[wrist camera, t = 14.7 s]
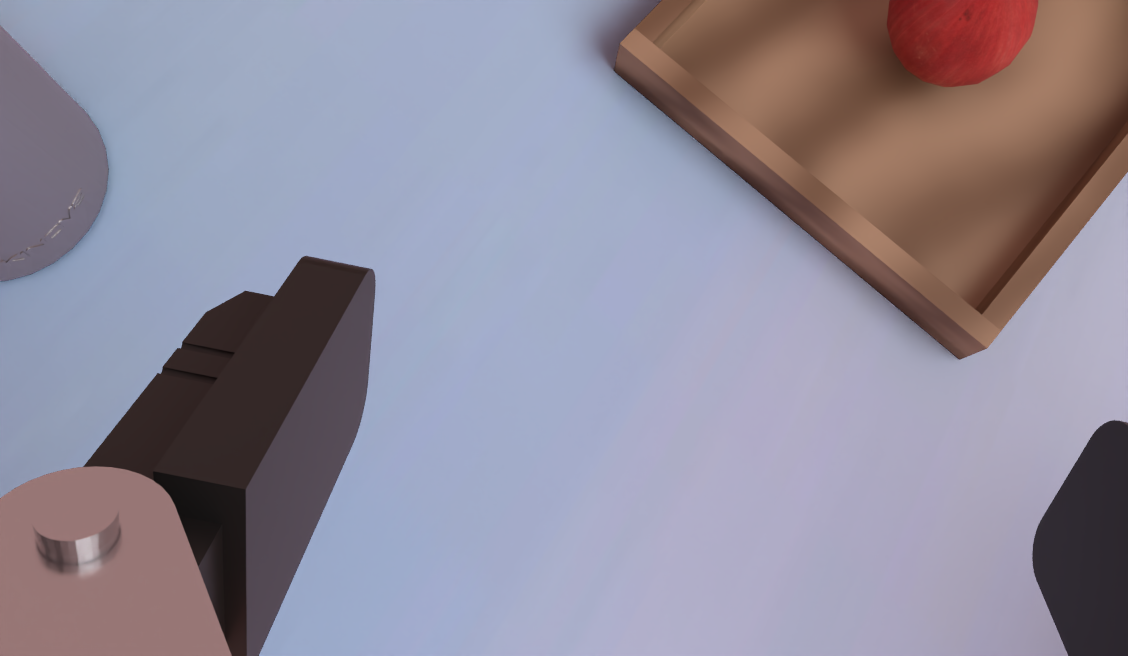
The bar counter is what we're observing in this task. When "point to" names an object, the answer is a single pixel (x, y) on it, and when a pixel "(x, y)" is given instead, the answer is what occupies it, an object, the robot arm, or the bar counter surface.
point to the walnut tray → (903, 141)
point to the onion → (959, 37)
